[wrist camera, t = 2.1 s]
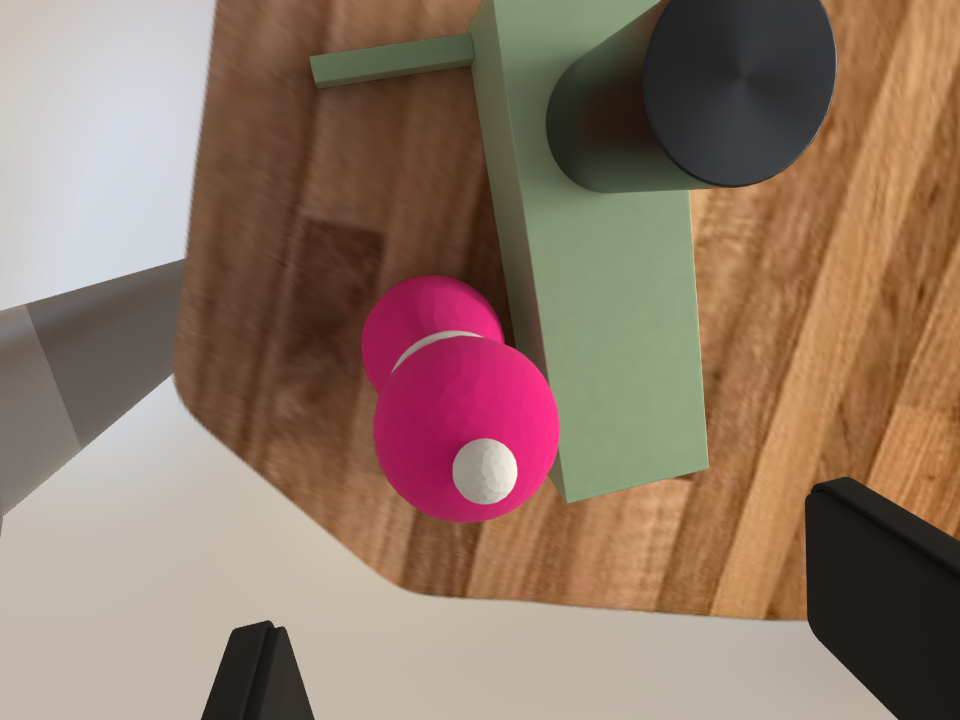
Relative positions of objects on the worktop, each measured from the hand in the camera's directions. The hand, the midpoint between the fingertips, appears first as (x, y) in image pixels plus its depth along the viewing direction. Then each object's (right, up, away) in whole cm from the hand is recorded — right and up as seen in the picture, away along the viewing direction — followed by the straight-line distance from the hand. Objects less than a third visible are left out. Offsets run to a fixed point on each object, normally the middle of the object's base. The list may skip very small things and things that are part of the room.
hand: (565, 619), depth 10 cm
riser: (0, +10, +24) cm, 26 cm away
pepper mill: (-5, +6, +24) cm, 26 cm away
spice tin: (+4, +15, +16) cm, 22 cm away
